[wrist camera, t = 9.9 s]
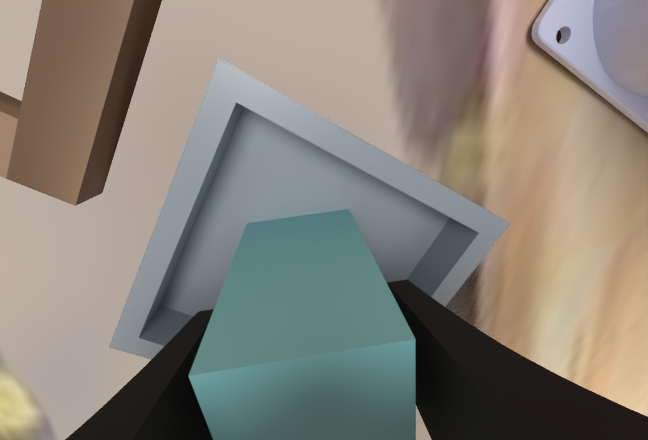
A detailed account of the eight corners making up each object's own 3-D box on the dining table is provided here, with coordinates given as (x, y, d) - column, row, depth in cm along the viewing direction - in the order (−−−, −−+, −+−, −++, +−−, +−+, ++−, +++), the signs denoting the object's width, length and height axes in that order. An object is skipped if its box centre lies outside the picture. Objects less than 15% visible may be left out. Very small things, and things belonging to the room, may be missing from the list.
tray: (471, 201, 13) (510, 223, 11) (348, 372, 16) (357, 419, 14) (236, 67, 10) (219, 57, 8) (141, 303, 13) (108, 347, 11)
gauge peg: (348, 208, 12) (415, 339, 5) (356, 293, 13) (415, 475, 7) (247, 223, 12) (188, 375, 5) (266, 307, 13) (239, 507, 7)
